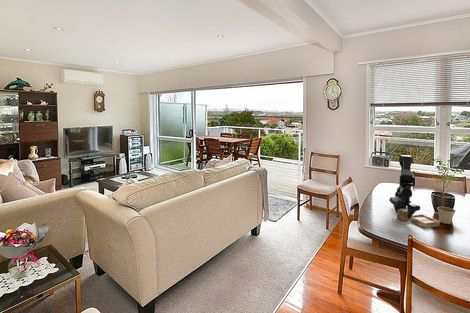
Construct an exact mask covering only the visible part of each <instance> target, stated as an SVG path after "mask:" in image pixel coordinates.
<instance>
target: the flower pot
mask: <svg viewBox="0 0 470 313" xmlns="http://www.w3.org/2000/svg"><path fill="white" fill-rule="evenodd" d="M436 209H437V212H438V213H437V214H438V221H440V224H441V223H442V224H445V225H446V224H448V225H450V224H452V221H453V217H454V215H455V213H456V211H457V210H456V209H453V208H451V207H447V206H446V207H445V206H438V207H436Z"/></svg>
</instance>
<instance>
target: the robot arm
mask: <svg viewBox="0 0 470 313" xmlns="http://www.w3.org/2000/svg"><path fill="white" fill-rule="evenodd" d="M398 162H399V165H400V168H401V169H400V174H399V184H398V185H399V186H398V187H397V188H396V191H395V193H394V196H390V198H389V199H388V200H389V203H390V204H392V205H393V207H394V210H395V213H396V214H397V211H398V209H406V210H408V219H410V218H411V217H412V215H415V213H416V212H418V211H421V206H420V205H419V204H416V203H412V201H411V198H412V197H413V191H412V187H413V188H414V187H415V185H416V178H415V176H414V173H413V172H412V170H411V169H412V168H411V166H412V163H414V157H413V156H412V155H404V154H402V155H401V154H400V156H399V155H398Z"/></svg>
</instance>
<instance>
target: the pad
mask: <svg viewBox="0 0 470 313" xmlns="http://www.w3.org/2000/svg"><path fill="white" fill-rule="evenodd" d="M392 220H394V221H395V222H398V223H400V224H401V225H405V224H406V225H407V224H414V223H413V222H411V221H409V220H408V221H407V222H401V221H399V220H397V217H394V218H392Z"/></svg>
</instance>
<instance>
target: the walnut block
mask: <svg viewBox="0 0 470 313" xmlns="http://www.w3.org/2000/svg"><path fill="white" fill-rule="evenodd" d="M396 218H397V220H399V221H401V222H407V221H408V210H407V209H398V211H397V213H396Z"/></svg>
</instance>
